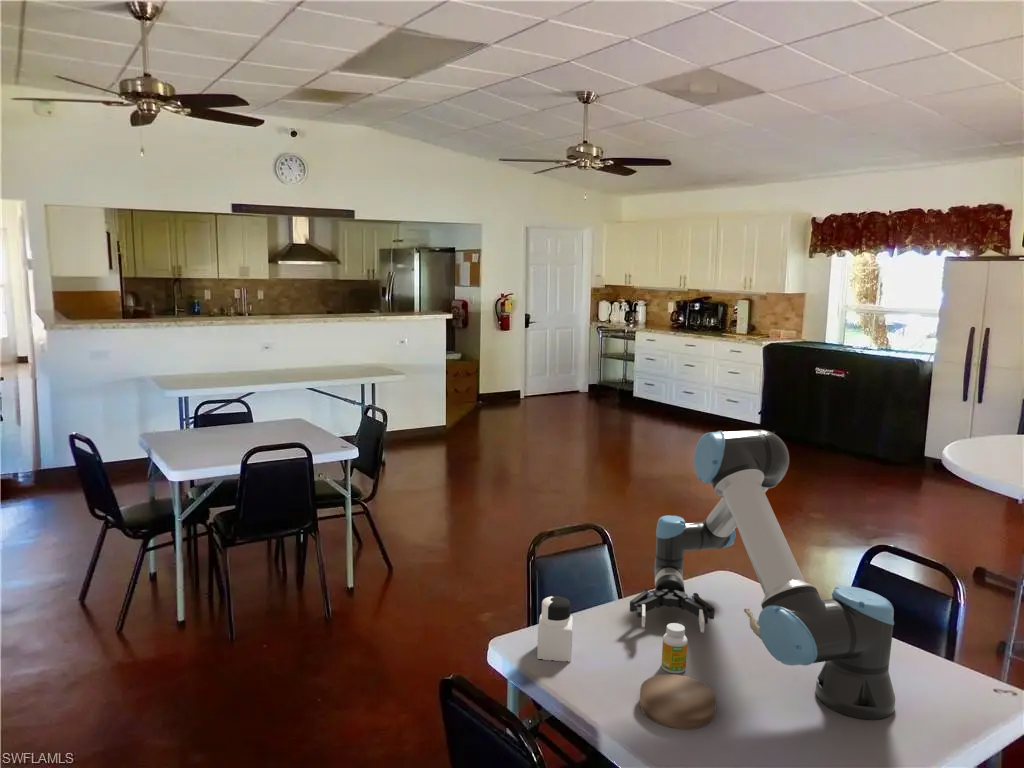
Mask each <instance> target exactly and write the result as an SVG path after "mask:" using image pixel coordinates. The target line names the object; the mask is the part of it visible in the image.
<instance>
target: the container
mask: <svg viewBox="0 0 1024 768" xmlns="http://www.w3.org/2000/svg"><path fill="white" fill-rule="evenodd" d="M573 620H574V617H573V615H571V601H570V600H569V599H568V598H566V597H563V596H559V595H551V596H548V597H545V598H543V599H542V601H541V614H540V615H539V619H538V626H537V648H536V649H537V652H536V656H537V660H538V659H543V660H542V661H551V660H554V662H566V661H568V663H570V662H572V658H573V657H572V653H573V652H572V651H573V627H574V624H573V623H574V621H573Z"/></svg>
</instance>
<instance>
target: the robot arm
mask: <svg viewBox="0 0 1024 768" xmlns="http://www.w3.org/2000/svg"><path fill="white" fill-rule="evenodd" d="M693 460H694V461H693V464H694V465H693V466H694V472H695V475H696V477H697V478H698V480H700V481H701V482H702V483H704V484H705V483H706V484H711V486H712V488H713V490H714V491H713V492H714V493H715V494H716V495H717V496H718V497H720V498H721V499H720V500H719V501H718V502H717V504H716V505H715V506H714V508H713V509H712V510H711V512H710V513H709V514H708V515H707V517H706V518H705V519H704V520H703V521H695V522H686V520H685V519H684V518H683V517H681V516H678V515H669V514H668V515H663V516H660V517H659V519H658V520H657V523H656V531H655V535H656V536H655V555H654V566H653V574H654V590H655V591H654V592H650V590H649V589H648V588H644V589H643V591H642V592H641V593H639V594H638V595H636V596H635V597H633V599H631V600H630V601H629V612H631V613H634V612H636V617H637V618H639V619H640V618H641V628H645V626H646V612H649V611H651V610H653V609H656V608H657V609H660V608H663V607H670V608H678V609H680V610H681V611H687V613H688V612H689V613H690V614H692V615H694V616H696V617H697V618H698V622H699V623H698V625H699V629H700V633H705V624H706V625H707V624H708V623H709V619H710V620H714V619H715V608H714V607H713V606H712V605H710V604H709V603H708V602H707V601H705V600H704V599H702V597H700V595H699V593H697V592H694V593H693V594H692V595H688V594H687V593H686V589H685V582H684V577H683V576H684V574H683V571H684V569H683V568H684V558H685V557H684V555H685V552H692V551H703V550H704V551H705V550H715V549H717V550H721V549H724V548H729V547H731V546H733V545H734V543H735V539H736V537H737V535H736V533H737V532H736V530H735V529H736V528H737V531H738V533H739V536H740V538H741V541H742V543H743V545H744V546H743V547H744V549H745V550H746V552H747V555H748V557H749V559H750V562H751V565H752V567H753V569H754V572H755V574H756V577H757V579H758V582H759V584H760V587H761V590H762V592H763V594H764V597H763V600H762V601H761V604H760V606H761V609H762V610H761V611H760V613H759V616H758V618H757V619H758V620H757V621H758V624H759V625H760V627H759V632H760V636H761V638H760V639H761V640H762V643H763V645H764V646H765V649H766V650H767V652H768V653H769V654H770V655H771V656H772V657H773V658H774V659H775V660H776V661H778V662H780V663H782V664H783V665H785V666H793V667H794V666H810V665H811V664H818V663H823V665H822V667H821V670H820V672H819V674H818V676H817V678H816V681H815V682H816V683H815V694H816V696H817V698H818V699H819V701H820V702H821V703H822V704H824V706H826V707H828V708H829V709H832V710H833V711H835V712H838V713H840V714H842V715H846V716H847V717H848V716H849V717H852V718H856V719H862V720H881V719H885V718H888V717H890V716H892V714H893V713H894V711H895V709H896V708H895V706H896V695H895V692H894V686H893V684H892V679H891V676H890V672H889V669H890V668H889V667H890V659H891V649H892V642H893V634H894V633H893V632H894V625H895V621H894V615H895V613H894V612H895V609H894V606H893V604H892V602H890V600H888V599H887V598H886V597H883V596H882V595H880V594H878V593H875V592H873V591H870V590H867V589H864V588H861V587H856V586H850V585H849V586H848V585H839V586H835V587H834V589H833V591H832V592H831V596H832V598H830V599H829V598H827V599H822V598H821V596H820V594H819V591H818V589H817V587H816V586H815V585H813V584H811V583H808V582H806V581H805V579H804V576H803V575H802V571H801V570H800V568H799V565H798V564H797V560H796V559H795V557H794V555H793V553H792V549H791V548H790V546H789V544H788V543H789V542H788V541H787V539H786V536H785V535H784V532H783V530H782V528H781V525H780V523H779V521H778V519H777V517H776V515H775V513H774V510H773V508H772V506H771V503H770V501H769V498H768V497H767V495H766V492H767V491H768V490H769V489H772V488H775V487H776V486H778V485H779V483H780V482H781V481H782V480H783V478H785V476H786V474H787V471H788V469H789V467H790V453H789V450H788V447H787V445H786V444H785V442H784V441H783V439H781V438H780V437H779V436H778V435H777V434H775V433H773V432H771V431H769V430H765V429H748V430H747V429H746V430H731V431H723V430H718V431H712V432H706V433H704V434H703V435H702V436H701V437H700V438H699V440H697V444H696V446H695V450H694V456H693Z"/></svg>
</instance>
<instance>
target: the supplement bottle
mask: <svg viewBox="0 0 1024 768" xmlns="http://www.w3.org/2000/svg"><path fill="white" fill-rule="evenodd" d="M665 631H666V632H665V634H663V636H662V648H661V667H662V669H663V670H664V671H666V672H667V673H671V674H681V673H684V672H685V671H686V670H687V660H688V659H687V657H688V638H687V636H686V627H685V626H684V625H683V624H681V623H678V622H671V623H668V624H667V625H666V630H665Z"/></svg>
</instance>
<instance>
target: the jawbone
mask: <svg viewBox="0 0 1024 768" xmlns="http://www.w3.org/2000/svg"><path fill="white" fill-rule="evenodd" d="M743 610H744V612H746V613H747V614H748V615H749V616H750V618H749V626H750V627H749V628H750V629H751V630H753V631H752V632H753V633H754V635H756V636H757V637H758V636H759V637H758V638H760V639H761V636H760V632H759V627H760V625H759V624H758V620H756V619H754V618H755V616H754V617H753V615H754V613H753V611H752V610H751V608H744V609H743ZM746 613H745V614H746ZM747 614H746V615H747ZM748 615H747V616H748ZM749 616H748V617H749Z"/></svg>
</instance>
